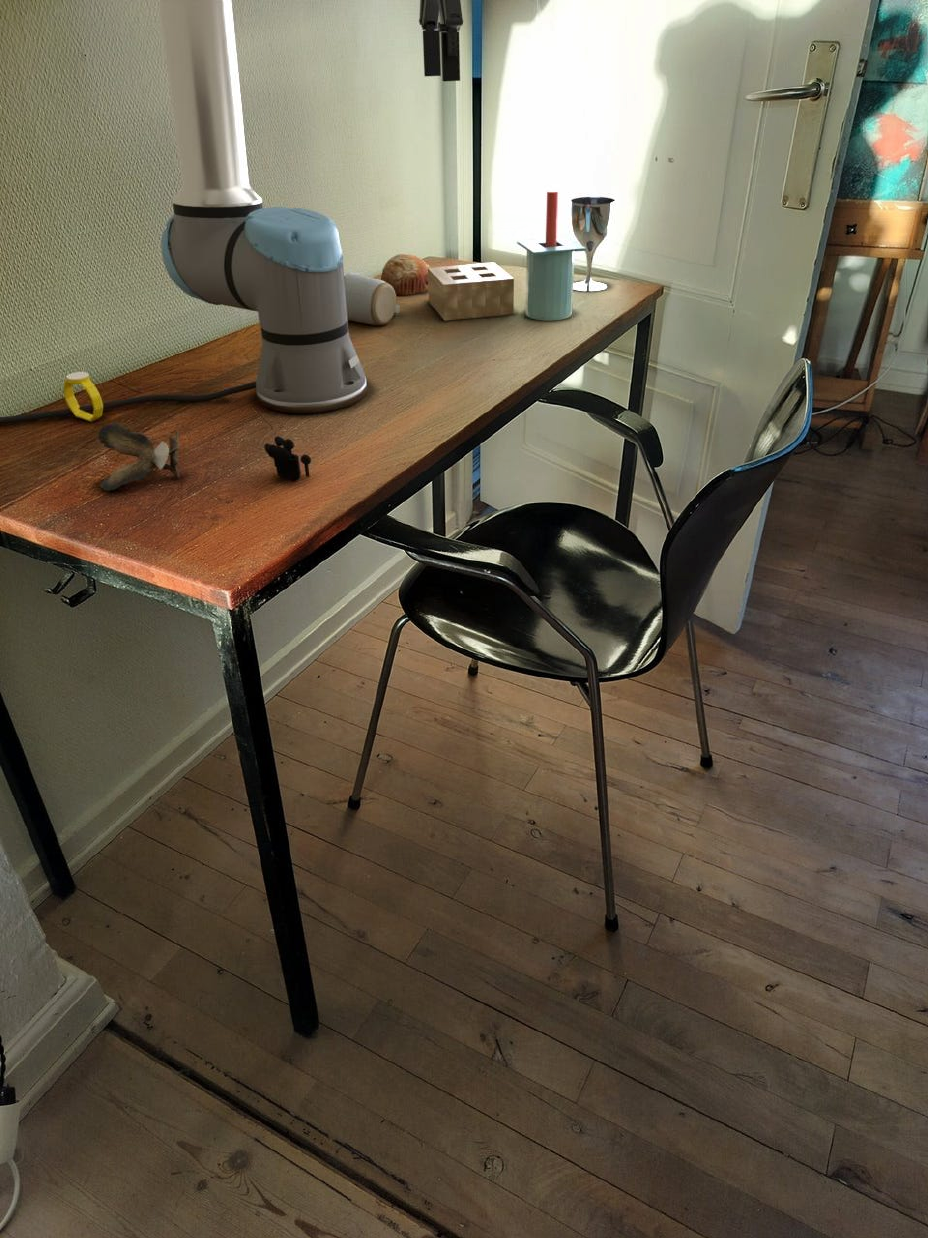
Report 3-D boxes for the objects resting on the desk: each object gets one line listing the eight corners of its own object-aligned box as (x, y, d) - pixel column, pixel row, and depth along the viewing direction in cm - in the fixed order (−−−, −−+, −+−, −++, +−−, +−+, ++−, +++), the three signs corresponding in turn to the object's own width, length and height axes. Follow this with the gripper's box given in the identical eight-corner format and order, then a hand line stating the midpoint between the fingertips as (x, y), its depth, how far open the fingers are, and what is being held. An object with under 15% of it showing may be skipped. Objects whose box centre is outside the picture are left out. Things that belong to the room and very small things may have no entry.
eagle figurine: (179, 449, 108) (99, 444, 105) (179, 412, 102) (93, 407, 99) (179, 503, 105) (96, 500, 102) (179, 470, 99) (91, 466, 96)
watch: (65, 417, 120) (52, 374, 117) (81, 411, 122) (70, 368, 119) (94, 426, 118) (83, 381, 114) (111, 419, 120) (100, 375, 116)
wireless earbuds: (316, 483, 102) (311, 441, 99) (301, 491, 100) (295, 449, 98) (272, 469, 105) (266, 428, 103) (257, 477, 104) (250, 436, 101)
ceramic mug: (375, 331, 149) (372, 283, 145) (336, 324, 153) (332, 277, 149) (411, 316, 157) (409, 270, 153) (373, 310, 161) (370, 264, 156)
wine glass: (618, 287, 170) (624, 200, 161) (585, 294, 166) (590, 206, 157) (590, 278, 175) (594, 194, 167) (558, 285, 171) (561, 200, 163)
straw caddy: (444, 320, 154) (443, 284, 150) (428, 301, 164) (427, 267, 160) (513, 314, 156) (514, 278, 153) (494, 296, 166) (494, 262, 163)
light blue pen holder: (533, 322, 152) (535, 253, 146) (519, 309, 158) (520, 243, 152) (578, 318, 154) (581, 250, 147) (562, 305, 160) (565, 240, 154)
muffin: (390, 301, 178) (370, 263, 174) (436, 275, 176) (417, 237, 172) (392, 315, 170) (371, 276, 165) (440, 288, 168) (420, 248, 164)
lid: (533, 254, 145) (533, 252, 145) (517, 243, 152) (517, 240, 152) (585, 250, 147) (585, 247, 147) (567, 239, 154) (567, 236, 154)
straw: (545, 312, 155) (549, 192, 144) (542, 310, 156) (545, 190, 146) (555, 311, 155) (559, 191, 144) (552, 309, 157) (556, 189, 146)
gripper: (482, -94, 126) (483, 81, 138) (442, -80, 146) (446, 73, 158) (430, -94, 124) (436, 84, 136) (396, -80, 145) (404, 74, 157)
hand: (441, 78), depth 147 cm, fingers open, 13 cm apart
